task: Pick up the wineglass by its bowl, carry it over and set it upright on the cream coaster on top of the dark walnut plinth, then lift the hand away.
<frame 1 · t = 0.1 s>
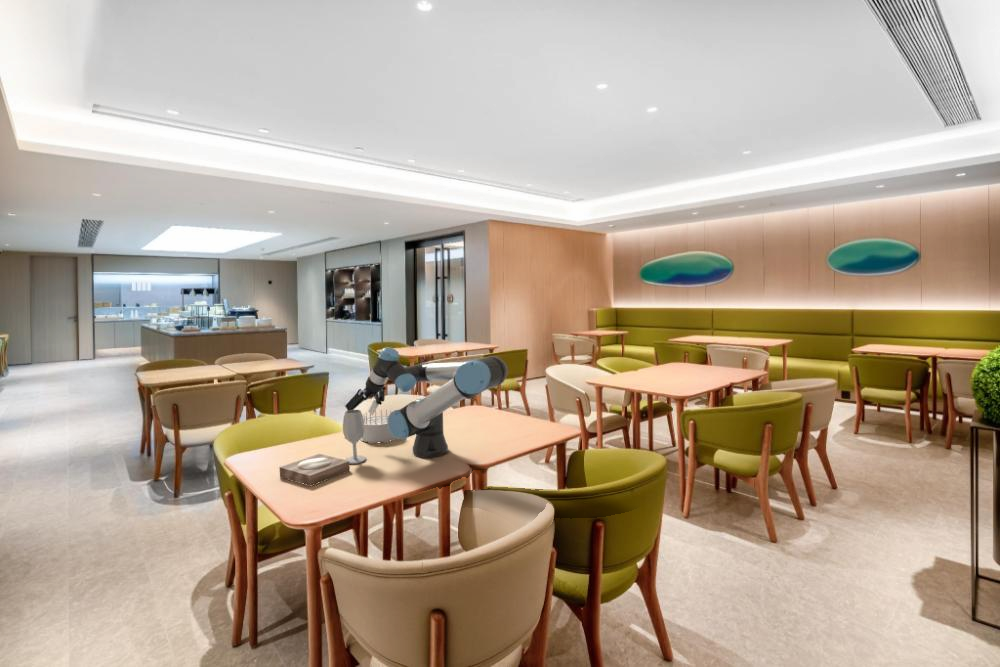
hand: (358, 416, 221), 15 cm above the table, tool tilted 35°, fingers open, 13 cm apart
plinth: (315, 474, 194), on the table
wineglass: (355, 461, 208), on the table
cake: (379, 438, 241), on the table
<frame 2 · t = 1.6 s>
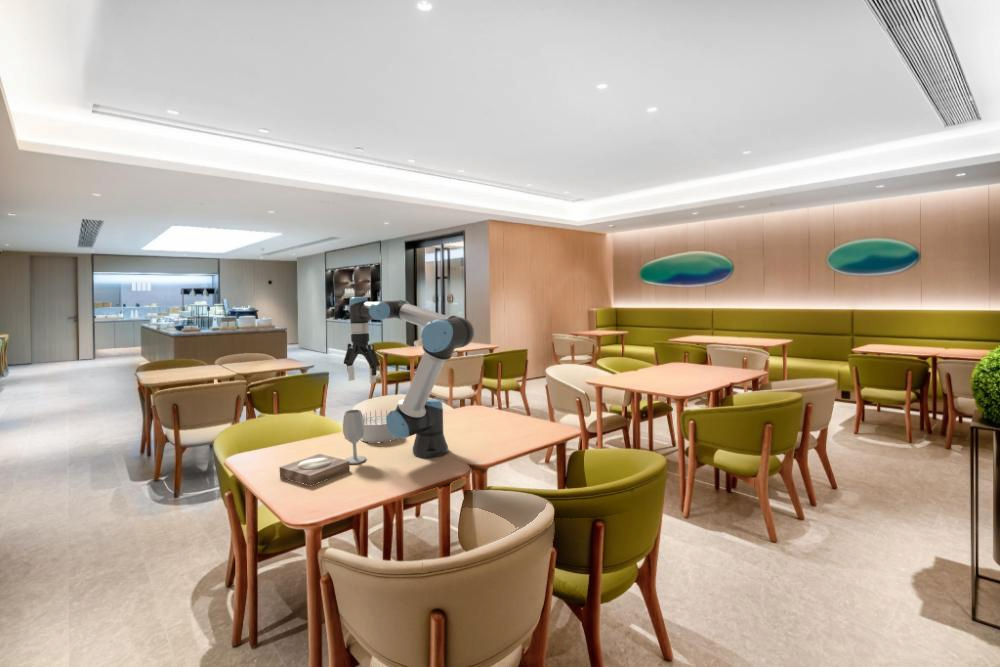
hand: (362, 381, 219), 31 cm above the table, tool pointing down, fingers open, 13 cm apart
nothing on the table moved.
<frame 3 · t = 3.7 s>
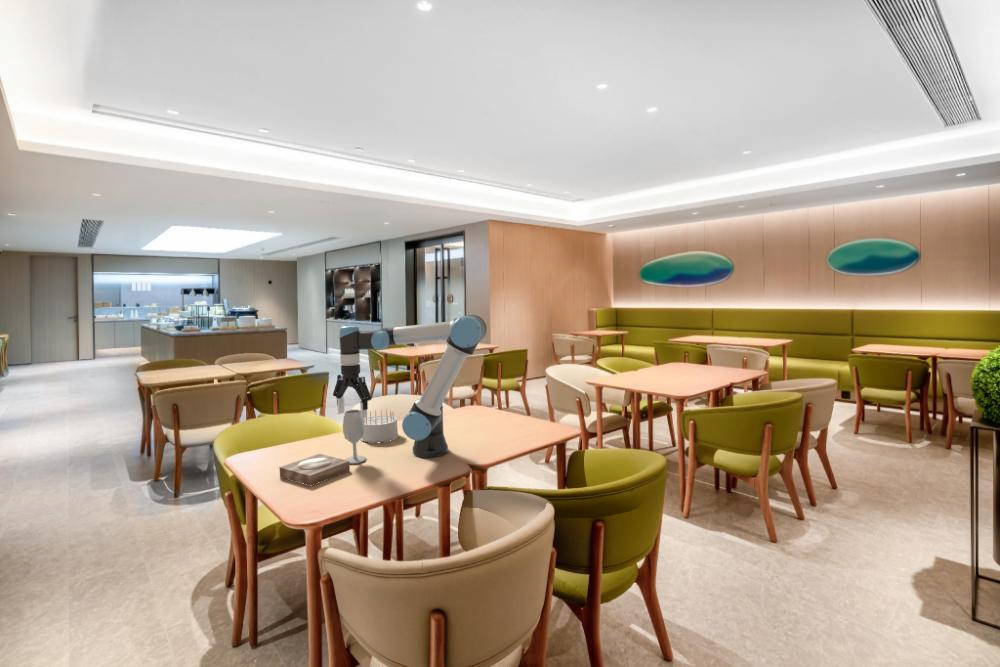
hand: (352, 415, 207), 19 cm above the table, tool pointing down, fingers open, 13 cm apart
nothing on the table moved.
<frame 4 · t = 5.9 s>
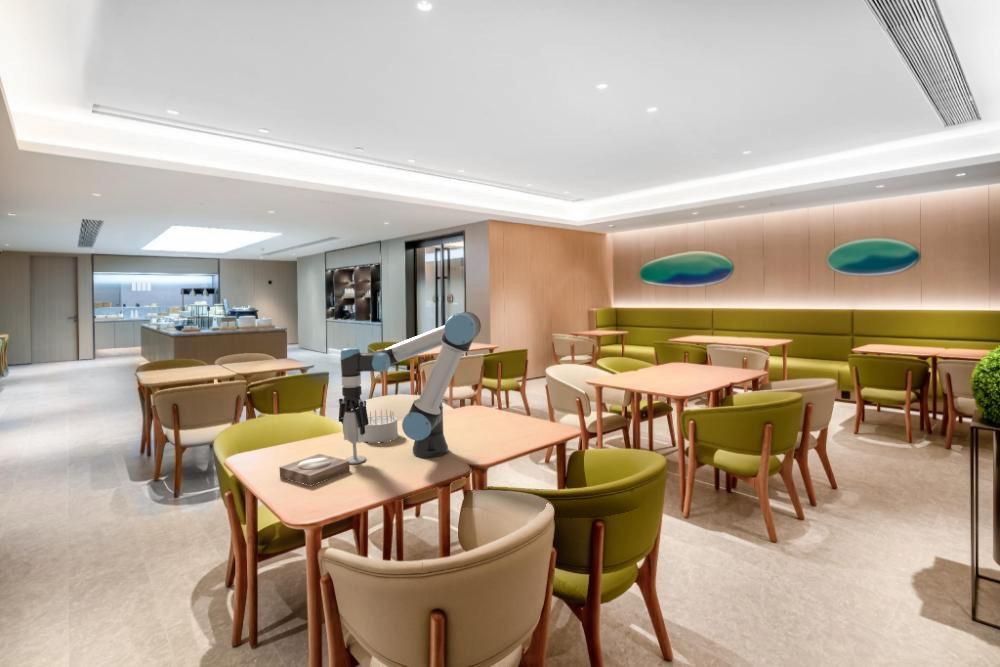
hand: (354, 440, 207), 9 cm above the table, tool pointing down, fingers closed on wineglass, 8 cm apart
wineglass: (355, 461, 208), on the table, touching gripper
everything else where it was.
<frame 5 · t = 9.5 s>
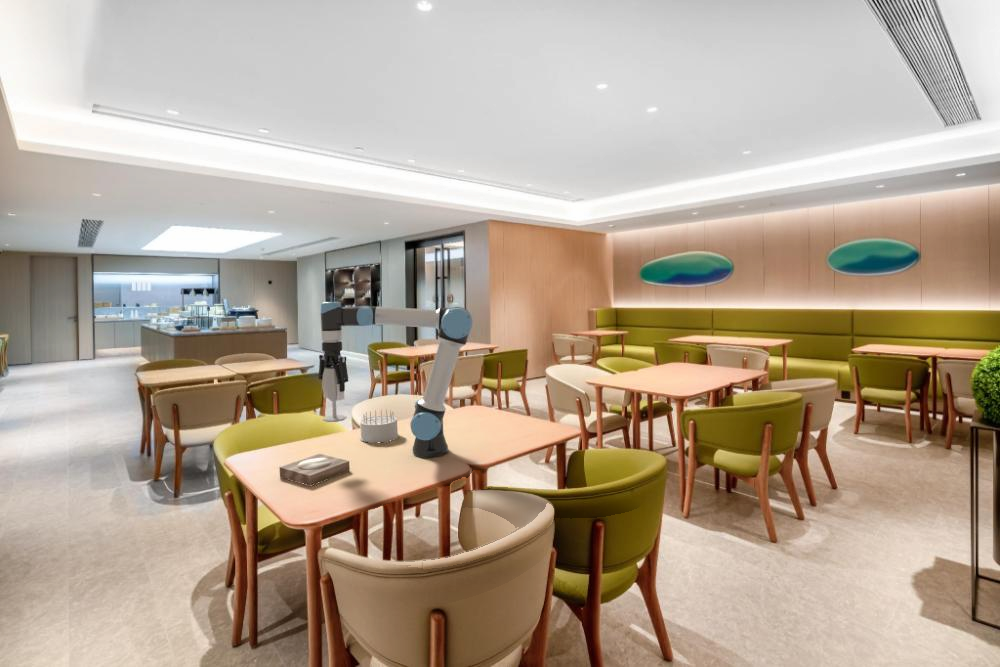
hand: (333, 398, 200), 28 cm above the table, tool pointing down, fingers closed on wineglass, 8 cm apart
wineglass: (334, 420, 201), point 19 cm above the table, touching gripper
everything else where it was.
when the fingers open (15 cm above the table, at t = 13.1 s): wineglass drops 1 cm, resting on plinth.
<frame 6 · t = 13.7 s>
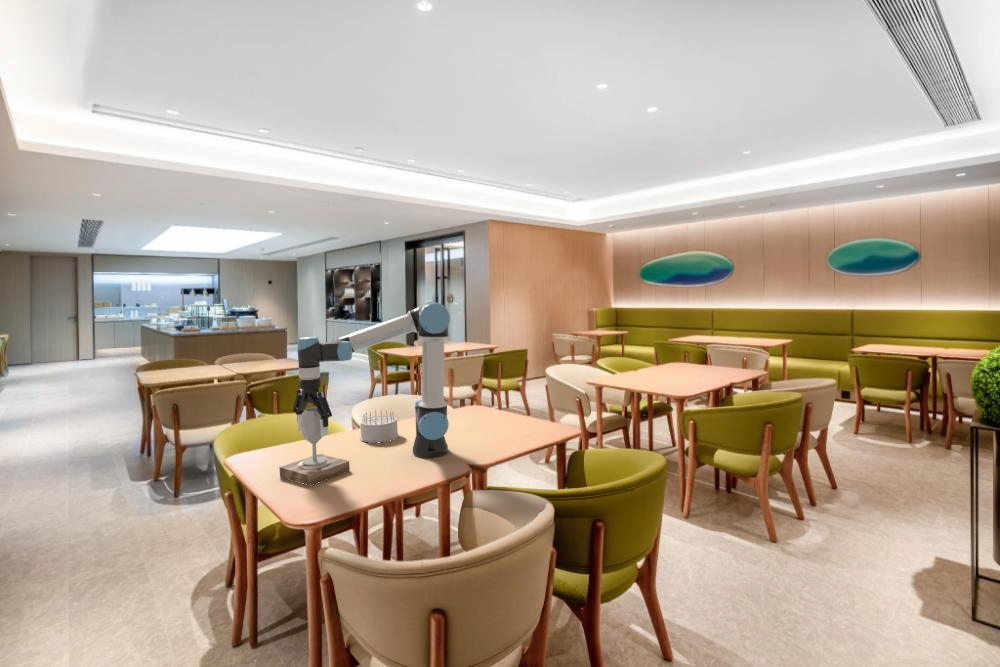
hand: (313, 432, 193), 16 cm above the table, tool pointing down, fingers open, 13 cm apart
wineglass: (314, 463, 194), point 4 cm above the table, touching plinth
everything else where it was.
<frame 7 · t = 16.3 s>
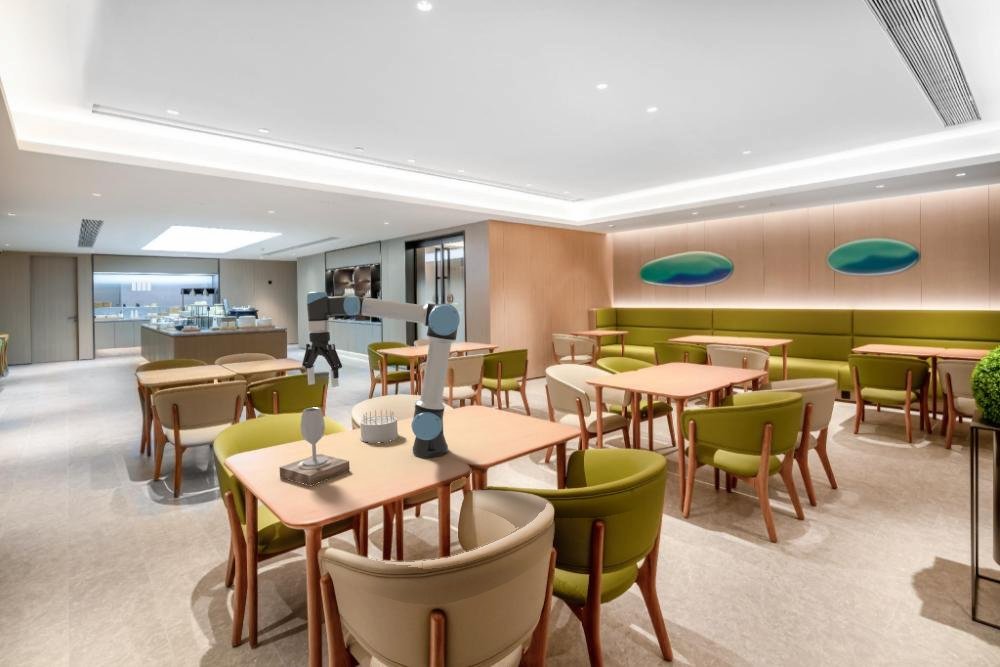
hand: (323, 385, 198), 33 cm above the table, tool pointing down, fingers open, 13 cm apart
nothing on the table moved.
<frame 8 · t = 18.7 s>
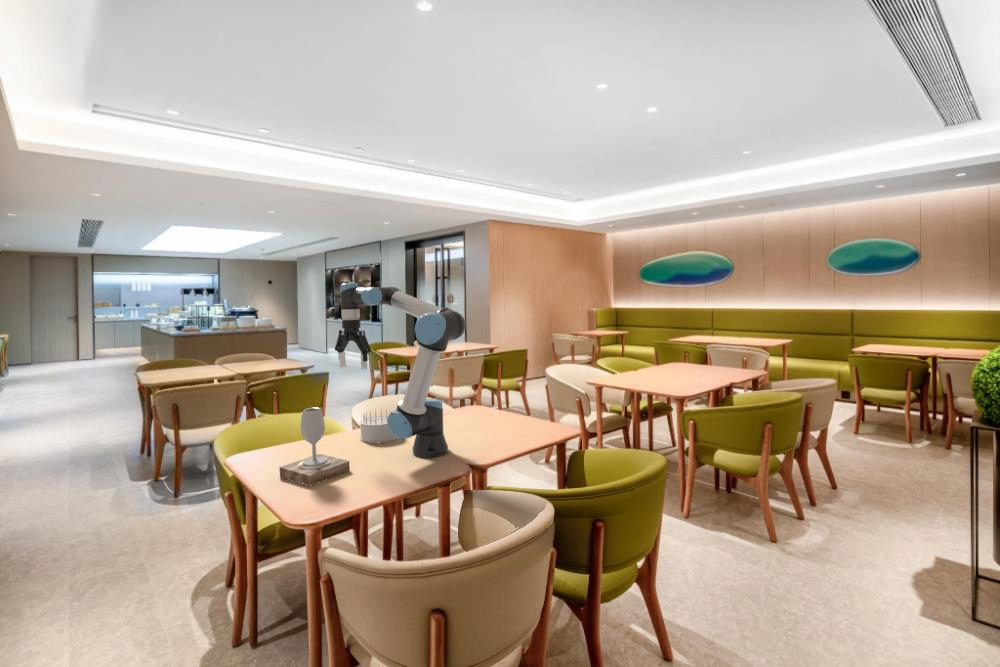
hand: (353, 368, 219), 37 cm above the table, tool pointing down, fingers open, 13 cm apart
nothing on the table moved.
at the end: wineglass inside the target area on the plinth (0.0 cm from its centre), point 4.2 cm above the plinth's base; wineglass tilted 0°; the gripper is holding nothing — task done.
